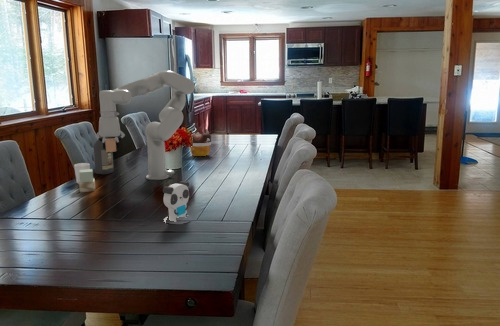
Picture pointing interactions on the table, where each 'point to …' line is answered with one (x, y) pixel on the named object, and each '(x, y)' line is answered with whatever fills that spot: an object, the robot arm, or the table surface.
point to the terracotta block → (110, 145)
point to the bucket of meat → (201, 143)
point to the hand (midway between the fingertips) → (111, 149)
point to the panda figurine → (176, 200)
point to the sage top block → (86, 175)
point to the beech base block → (87, 186)
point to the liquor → (102, 158)
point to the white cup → (80, 167)
